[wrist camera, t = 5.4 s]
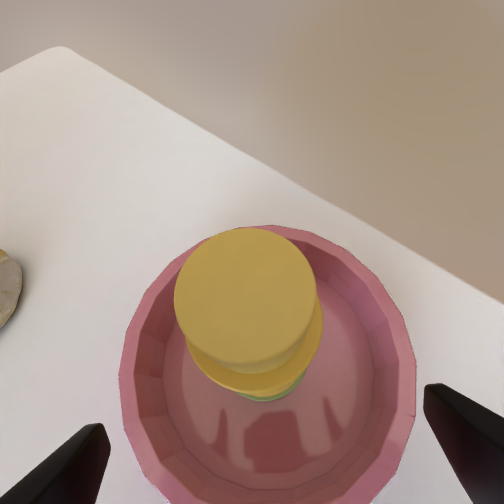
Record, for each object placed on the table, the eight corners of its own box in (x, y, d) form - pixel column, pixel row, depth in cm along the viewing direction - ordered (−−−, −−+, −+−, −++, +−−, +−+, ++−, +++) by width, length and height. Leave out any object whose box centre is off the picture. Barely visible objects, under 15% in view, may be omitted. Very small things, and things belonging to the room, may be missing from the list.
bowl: (243, 587, 13) (228, 666, 9) (118, 340, 19) (77, 324, 15) (436, 378, 17) (485, 370, 13) (277, 225, 23) (277, 188, 19)
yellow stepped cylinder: (258, 421, 16) (218, 461, 5) (210, 350, 18) (113, 275, 7) (322, 363, 17) (393, 299, 6) (269, 302, 19) (259, 180, 9)
